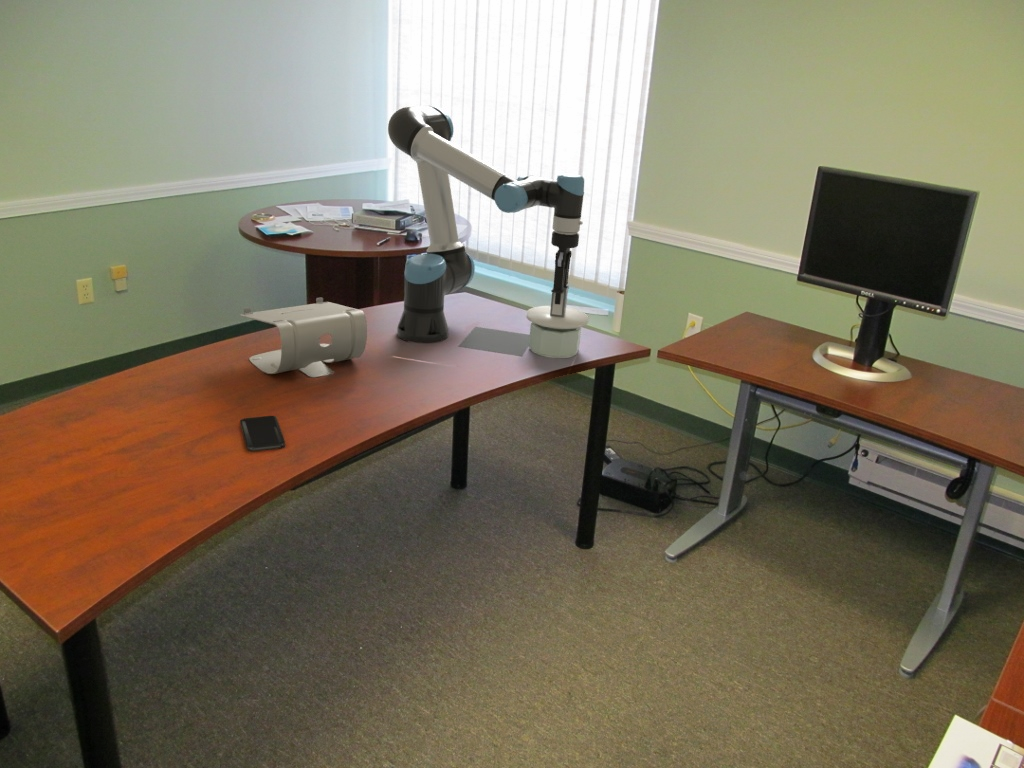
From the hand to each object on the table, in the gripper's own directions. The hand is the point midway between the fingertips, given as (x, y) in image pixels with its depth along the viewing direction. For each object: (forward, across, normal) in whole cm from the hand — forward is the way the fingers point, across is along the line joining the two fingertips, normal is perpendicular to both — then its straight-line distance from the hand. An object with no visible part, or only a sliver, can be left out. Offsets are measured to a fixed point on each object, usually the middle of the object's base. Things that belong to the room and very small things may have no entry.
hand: (557, 312), depth 236 cm
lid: (+3, 0, 0) cm, 3 cm away
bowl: (+12, 0, 0) cm, 12 cm away
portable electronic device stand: (+12, -38, +60) cm, 72 cm away
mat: (+12, 0, +17) cm, 21 cm away
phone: (+12, -79, +50) cm, 94 cm away
